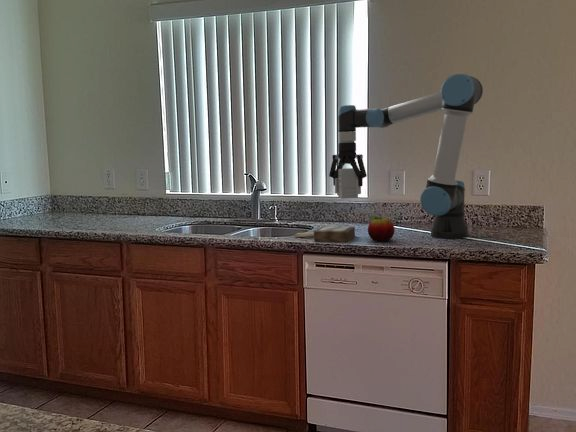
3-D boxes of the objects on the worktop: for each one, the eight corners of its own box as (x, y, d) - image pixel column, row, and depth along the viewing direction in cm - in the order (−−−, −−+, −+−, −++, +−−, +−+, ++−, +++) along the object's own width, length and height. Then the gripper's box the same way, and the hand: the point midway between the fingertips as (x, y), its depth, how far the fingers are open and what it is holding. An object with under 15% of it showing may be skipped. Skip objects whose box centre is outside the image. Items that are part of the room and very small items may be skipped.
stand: (354, 236, 237) (354, 226, 236) (347, 242, 224) (347, 231, 223) (323, 235, 241) (323, 225, 241) (314, 241, 228) (313, 230, 228)
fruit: (388, 243, 217) (388, 218, 216) (363, 241, 223) (363, 217, 222) (398, 239, 226) (398, 215, 225) (373, 237, 232) (373, 214, 231)
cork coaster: (321, 236, 238) (321, 234, 238) (300, 238, 234) (300, 237, 234) (311, 233, 247) (311, 231, 247) (291, 235, 244) (291, 233, 243)
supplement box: (354, 196, 244) (353, 167, 242) (358, 198, 237) (358, 168, 235) (337, 197, 243) (337, 168, 241) (341, 198, 236) (340, 169, 234)
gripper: (374, 141, 233) (375, 193, 236) (329, 142, 246) (330, 192, 249) (366, 141, 227) (366, 195, 230) (320, 142, 240) (321, 193, 243)
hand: (347, 193), depth 240 cm, fingers closed on supplement box, 10 cm apart
